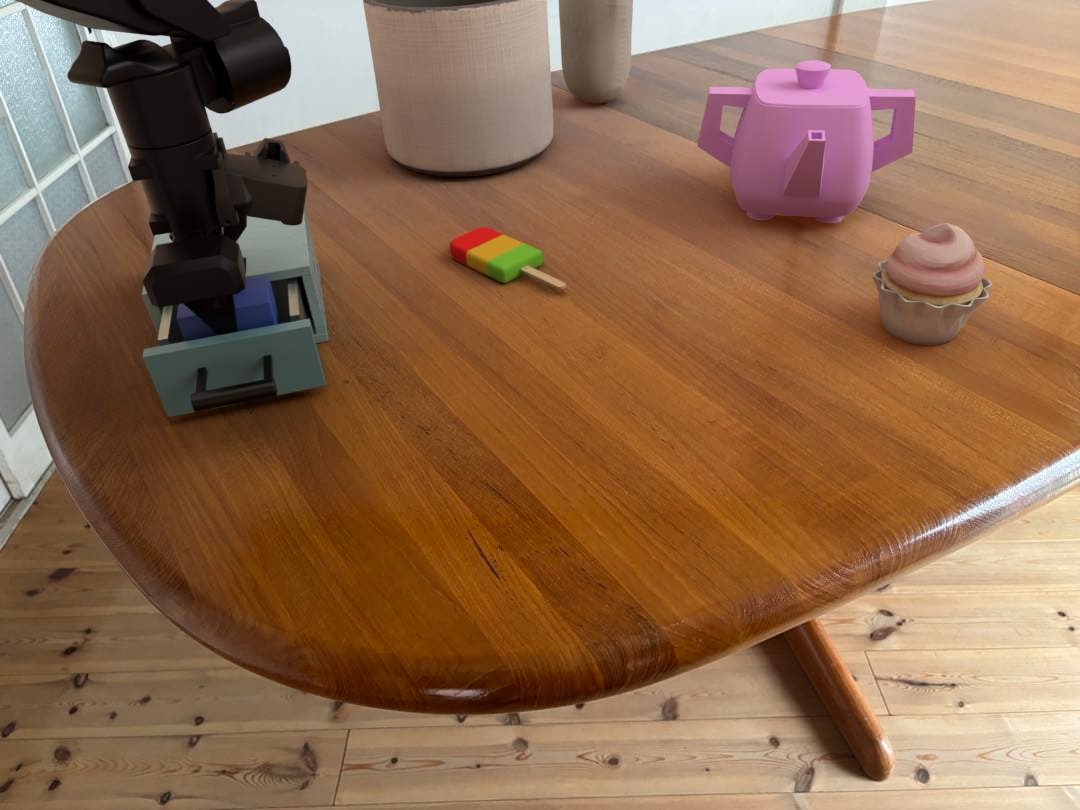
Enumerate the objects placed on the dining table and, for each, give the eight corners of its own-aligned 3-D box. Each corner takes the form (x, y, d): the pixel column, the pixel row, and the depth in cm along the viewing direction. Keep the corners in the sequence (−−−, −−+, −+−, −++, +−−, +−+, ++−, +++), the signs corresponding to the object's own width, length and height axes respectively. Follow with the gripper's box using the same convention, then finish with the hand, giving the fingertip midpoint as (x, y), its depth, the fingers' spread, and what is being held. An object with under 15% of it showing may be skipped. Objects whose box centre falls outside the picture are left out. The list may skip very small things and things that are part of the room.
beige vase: (550, 101, 125) (541, -114, 108) (601, 86, 130) (600, -123, 113) (591, 116, 119) (588, -110, 102) (643, 100, 124) (649, -119, 106)
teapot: (799, 256, 83) (824, 105, 74) (676, 200, 95) (683, 64, 86) (916, 203, 91) (951, 61, 82) (789, 158, 103) (807, 30, 94)
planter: (584, 157, 107) (581, -12, 94) (421, 197, 100) (394, 19, 87) (512, 110, 123) (501, -40, 111) (367, 141, 116) (338, -15, 104)
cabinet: (328, 341, 75) (309, 265, 70) (172, 370, 73) (141, 294, 68) (318, 263, 87) (301, 194, 83) (183, 287, 85) (158, 217, 80)
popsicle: (485, 239, 90) (483, 223, 89) (584, 284, 81) (583, 267, 80) (446, 257, 87) (443, 241, 86) (543, 306, 78) (542, 289, 77)
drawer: (330, 421, 64) (313, 359, 61) (162, 456, 62) (134, 393, 58) (316, 300, 79) (302, 245, 76) (180, 325, 77) (159, 269, 73)
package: (280, 340, 67) (269, 301, 64) (190, 356, 65) (176, 318, 63) (278, 312, 70) (268, 275, 68) (194, 327, 69) (180, 290, 67)
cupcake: (842, 331, 72) (864, 226, 66) (891, 289, 77) (916, 188, 71) (949, 371, 67) (983, 261, 60) (994, 323, 72) (1030, 217, 66)
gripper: (290, 164, 52) (340, 366, 61) (282, 82, 66) (323, 256, 76) (104, 192, 50) (185, 396, 59) (137, 101, 64) (198, 277, 74)
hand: (232, 323), depth 67 cm, fingers closed on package, 5 cm apart
